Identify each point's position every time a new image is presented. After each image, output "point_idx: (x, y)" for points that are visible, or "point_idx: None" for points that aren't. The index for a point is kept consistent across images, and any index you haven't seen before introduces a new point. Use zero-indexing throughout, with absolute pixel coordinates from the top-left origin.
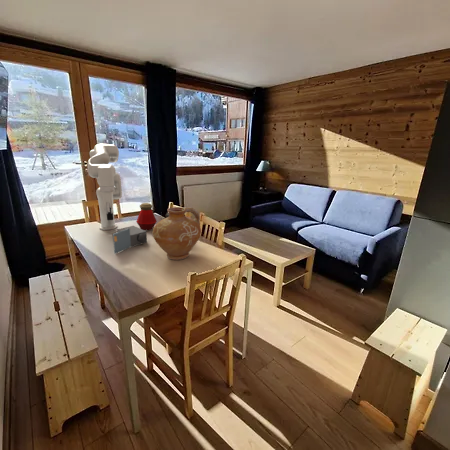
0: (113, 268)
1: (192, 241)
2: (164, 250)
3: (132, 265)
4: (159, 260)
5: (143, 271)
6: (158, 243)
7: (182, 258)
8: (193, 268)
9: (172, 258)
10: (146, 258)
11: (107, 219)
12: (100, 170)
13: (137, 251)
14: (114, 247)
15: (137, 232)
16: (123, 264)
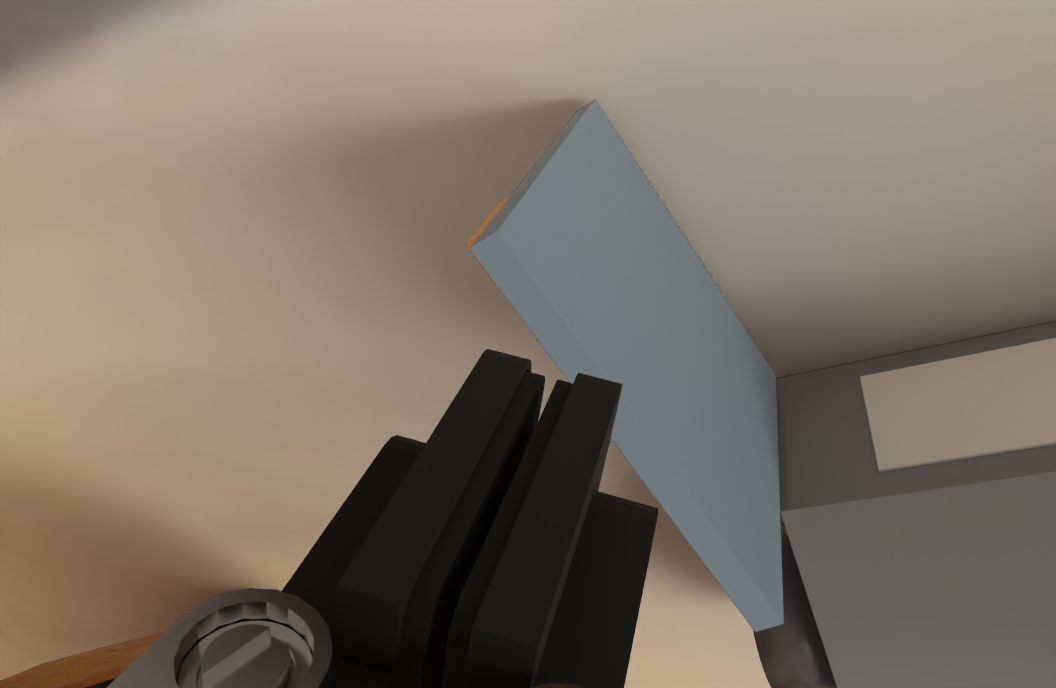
0: (115, 4)
1: None
2: (132, 641)
3: (160, 242)
4: (227, 512)
5: (9, 306)
6: (32, 677)
7: None
8: (31, 646)
9: None
10: (309, 427)
11: (476, 369)
12: None
13: None
14: (562, 135)
15: (884, 656)
16: (206, 150)
